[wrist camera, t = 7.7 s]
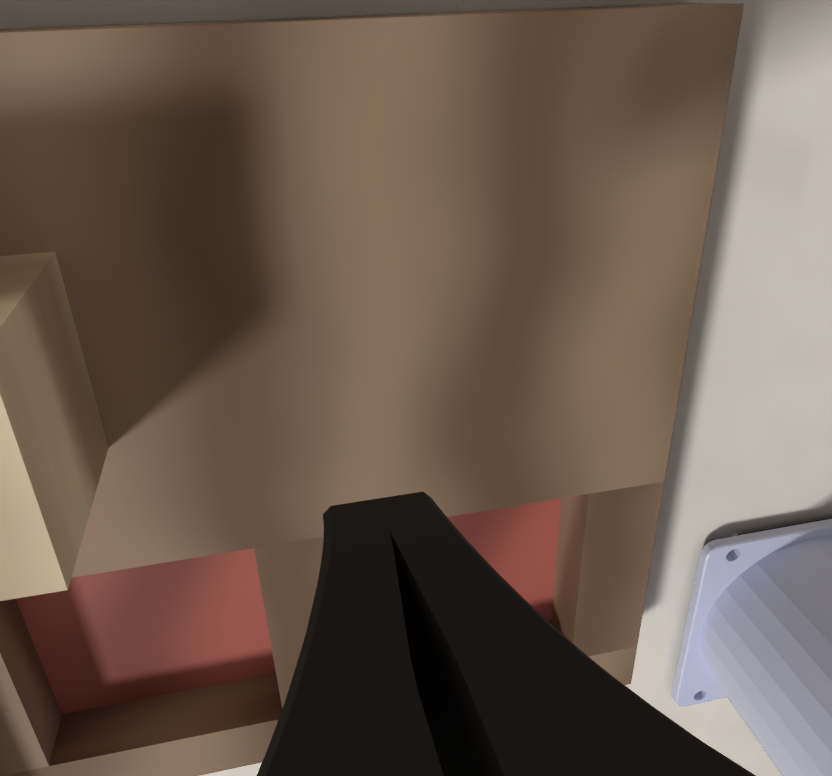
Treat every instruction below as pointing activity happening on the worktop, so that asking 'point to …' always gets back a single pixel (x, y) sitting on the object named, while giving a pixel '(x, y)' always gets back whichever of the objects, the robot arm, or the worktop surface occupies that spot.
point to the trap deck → (347, 333)
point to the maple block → (43, 430)
